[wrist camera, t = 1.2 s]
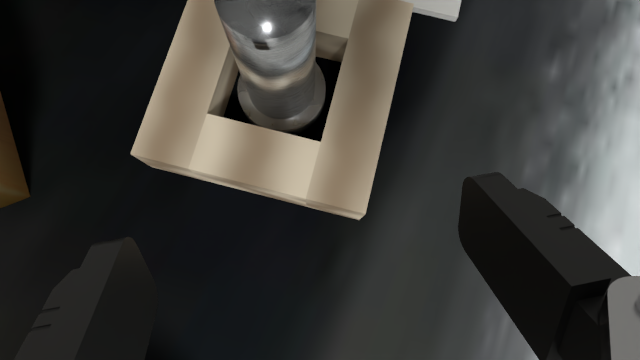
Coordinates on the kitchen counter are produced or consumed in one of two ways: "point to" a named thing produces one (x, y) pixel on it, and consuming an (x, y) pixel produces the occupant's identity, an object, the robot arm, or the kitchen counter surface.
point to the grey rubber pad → (437, 8)
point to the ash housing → (269, 145)
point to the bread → (10, 165)
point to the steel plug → (275, 61)
